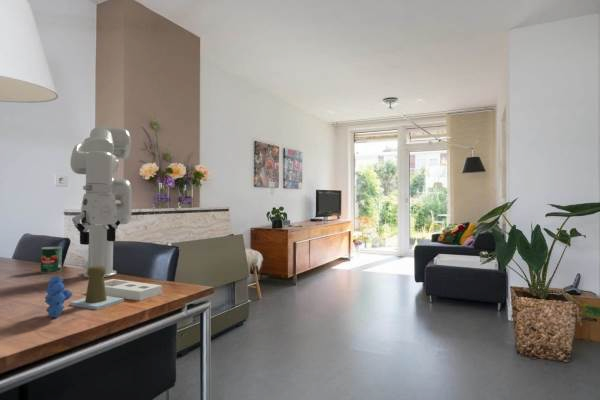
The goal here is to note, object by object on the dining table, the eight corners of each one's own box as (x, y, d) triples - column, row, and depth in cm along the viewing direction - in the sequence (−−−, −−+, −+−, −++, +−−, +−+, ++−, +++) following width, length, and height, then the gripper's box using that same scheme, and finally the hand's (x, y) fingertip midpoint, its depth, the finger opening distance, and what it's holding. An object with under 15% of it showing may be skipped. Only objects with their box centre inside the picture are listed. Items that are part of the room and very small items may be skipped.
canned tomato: (41, 274, 160) (41, 249, 160) (39, 271, 166) (39, 247, 166) (62, 272, 165) (63, 247, 165) (60, 269, 171) (60, 246, 171)
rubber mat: (69, 305, 115) (69, 301, 115) (97, 297, 124) (97, 294, 124) (96, 309, 111) (97, 306, 111) (123, 301, 120) (123, 298, 120)
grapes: (77, 319, 102) (78, 276, 102) (49, 324, 97) (49, 279, 97) (67, 309, 110) (68, 270, 110) (40, 314, 106) (41, 273, 106)
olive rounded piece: (96, 303, 114) (97, 268, 114) (80, 302, 115) (81, 267, 115) (110, 298, 120) (111, 265, 120) (95, 297, 121) (95, 264, 121)
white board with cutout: (88, 292, 130) (88, 284, 130) (112, 286, 139) (112, 278, 139) (140, 300, 121) (140, 291, 121) (161, 293, 131) (162, 285, 131)
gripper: (82, 189, 108) (81, 246, 108) (129, 190, 124) (128, 240, 124) (65, 188, 111) (64, 245, 111) (113, 190, 127) (112, 239, 127)
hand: (98, 242), depth 118 cm, fingers open, 9 cm apart
